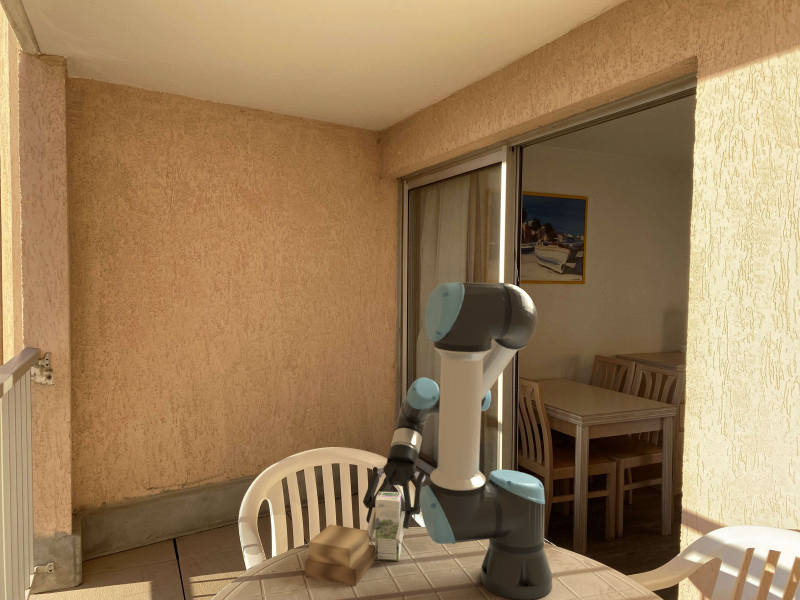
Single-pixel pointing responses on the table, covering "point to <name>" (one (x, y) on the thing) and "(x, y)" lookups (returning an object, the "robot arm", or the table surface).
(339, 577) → the walnut block
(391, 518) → the syrup box
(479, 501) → the robot arm
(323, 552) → the oak block
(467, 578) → the table surface
